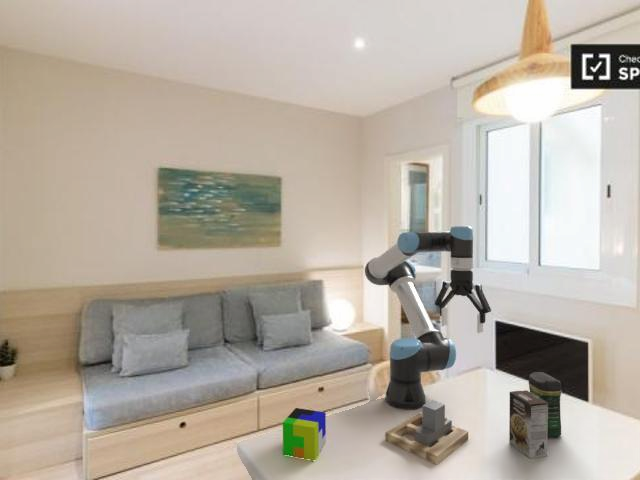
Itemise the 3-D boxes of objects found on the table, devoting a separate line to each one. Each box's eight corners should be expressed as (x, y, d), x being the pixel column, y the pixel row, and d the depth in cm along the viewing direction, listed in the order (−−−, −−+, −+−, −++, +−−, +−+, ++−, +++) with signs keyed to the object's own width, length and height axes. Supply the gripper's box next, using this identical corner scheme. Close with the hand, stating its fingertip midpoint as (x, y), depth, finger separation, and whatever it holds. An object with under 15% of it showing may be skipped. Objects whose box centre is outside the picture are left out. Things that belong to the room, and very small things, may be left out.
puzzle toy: (325, 443, 124) (325, 412, 123) (314, 461, 114) (314, 427, 114) (296, 438, 127) (295, 407, 127) (283, 455, 118) (282, 422, 117)
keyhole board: (385, 440, 125) (385, 432, 125) (418, 419, 138) (418, 412, 138) (436, 464, 112) (436, 455, 112) (468, 439, 125) (468, 431, 125)
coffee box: (508, 442, 123) (508, 391, 123) (526, 440, 125) (526, 389, 124) (529, 459, 114) (529, 404, 114) (548, 456, 116) (549, 401, 115)
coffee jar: (566, 438, 125) (566, 380, 125) (542, 439, 125) (542, 381, 124) (546, 423, 135) (547, 369, 134) (524, 424, 135) (524, 370, 134)
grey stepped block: (415, 447, 120) (415, 409, 120) (439, 430, 130) (439, 396, 130) (427, 453, 117) (427, 414, 117) (451, 435, 127) (451, 400, 126)
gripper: (425, 267, 148) (425, 324, 149) (491, 272, 130) (491, 337, 130) (436, 266, 153) (436, 321, 154) (501, 271, 135) (501, 333, 135)
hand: (461, 328), depth 142 cm, fingers open, 13 cm apart
